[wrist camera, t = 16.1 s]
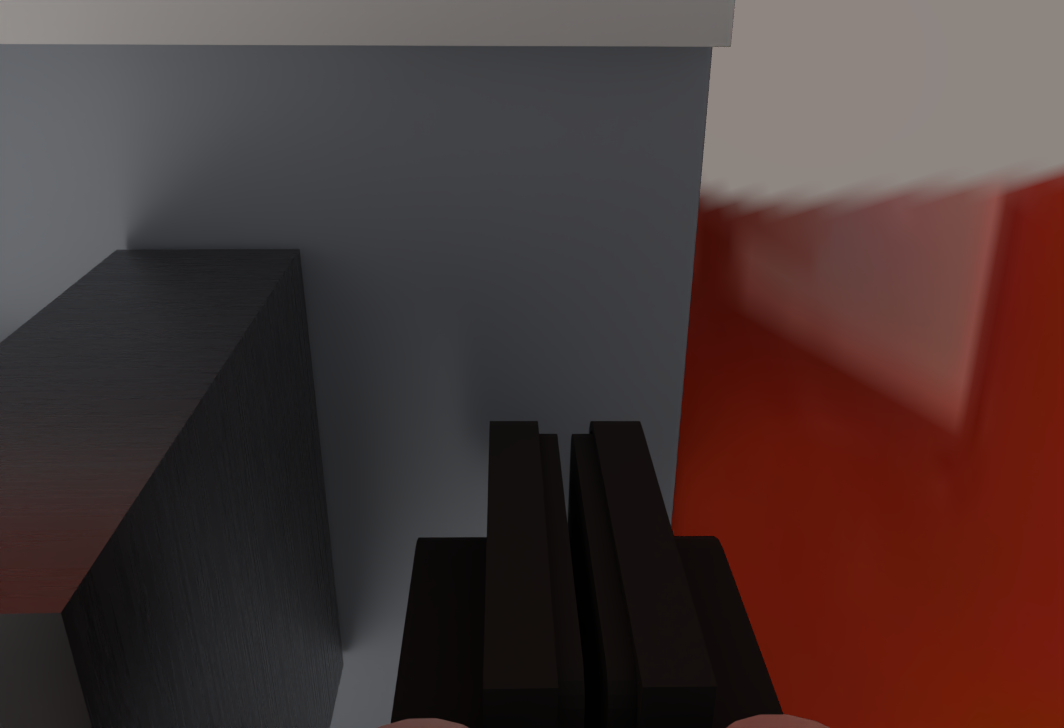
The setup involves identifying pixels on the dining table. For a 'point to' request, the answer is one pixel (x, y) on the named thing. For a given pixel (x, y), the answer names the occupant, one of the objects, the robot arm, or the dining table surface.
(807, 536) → the dining table surface
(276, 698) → the sliding jaw
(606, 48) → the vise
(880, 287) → the dining table surface
